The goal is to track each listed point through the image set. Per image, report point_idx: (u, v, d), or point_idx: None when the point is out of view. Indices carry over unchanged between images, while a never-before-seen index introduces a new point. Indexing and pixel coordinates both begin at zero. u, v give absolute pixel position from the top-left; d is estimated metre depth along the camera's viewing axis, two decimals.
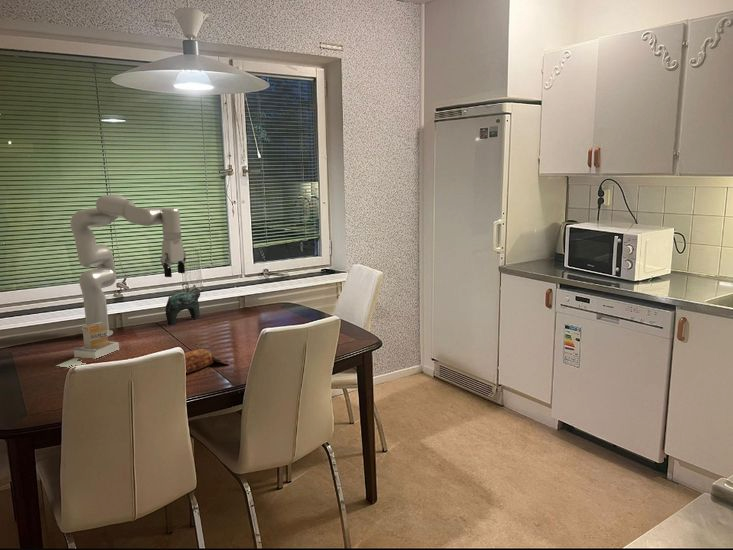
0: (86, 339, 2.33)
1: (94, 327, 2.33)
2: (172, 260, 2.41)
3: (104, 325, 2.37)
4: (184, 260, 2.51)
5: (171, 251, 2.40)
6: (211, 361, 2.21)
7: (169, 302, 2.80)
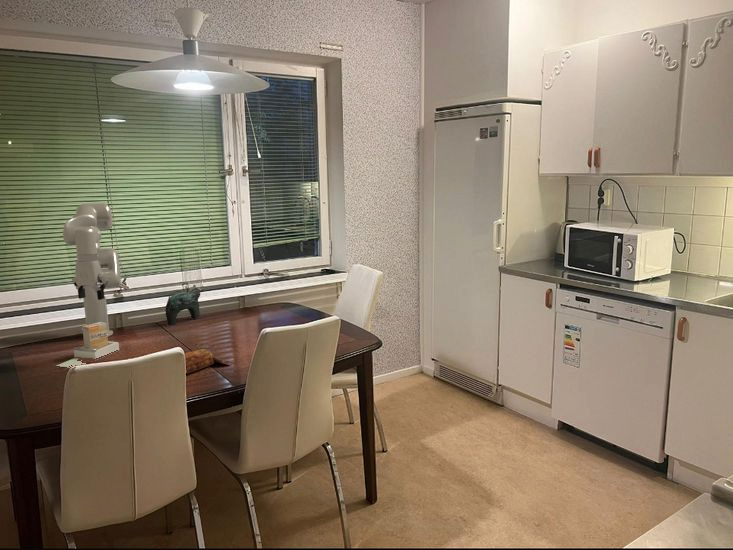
0: (86, 339, 2.33)
1: (94, 327, 2.33)
2: None
3: (104, 325, 2.37)
4: None
5: None
6: (212, 361, 2.21)
7: (169, 302, 2.80)
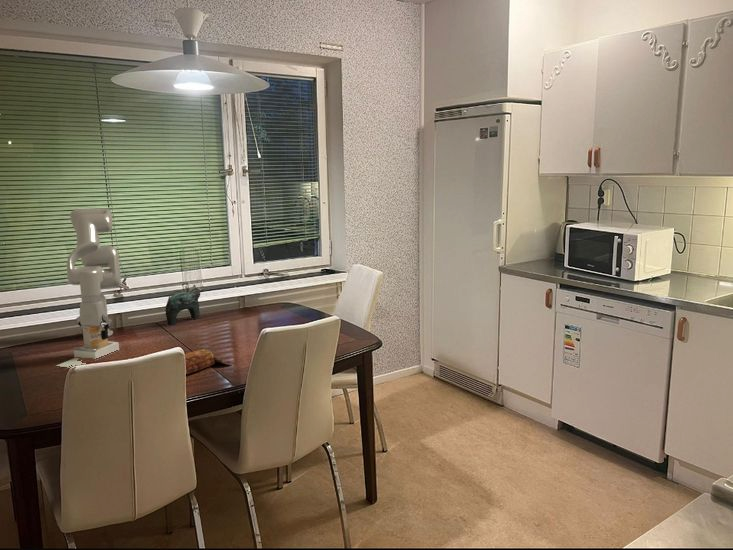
0: (86, 339, 2.33)
1: (94, 327, 2.33)
2: None
3: None
4: None
5: None
6: (213, 361, 2.20)
7: (169, 302, 2.80)
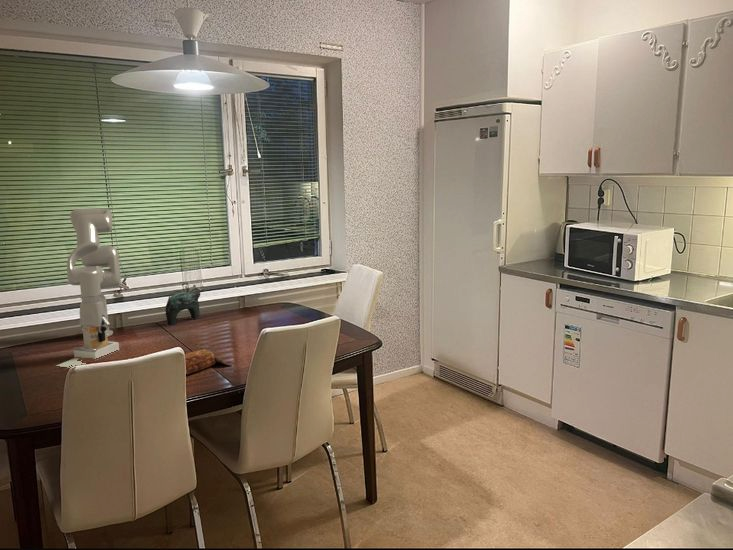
0: (86, 339, 2.33)
1: (94, 327, 2.33)
2: None
3: (104, 325, 2.37)
4: None
5: None
6: (213, 362, 2.20)
7: (169, 302, 2.80)
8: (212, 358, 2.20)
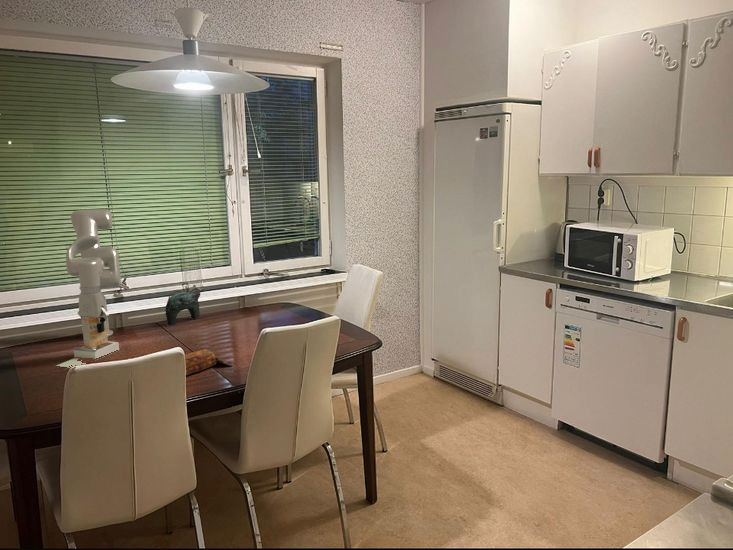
0: (85, 330, 2.32)
1: (93, 318, 2.32)
2: None
3: (103, 316, 2.36)
4: None
5: None
6: (214, 362, 2.20)
7: (169, 302, 2.80)
8: (213, 358, 2.20)
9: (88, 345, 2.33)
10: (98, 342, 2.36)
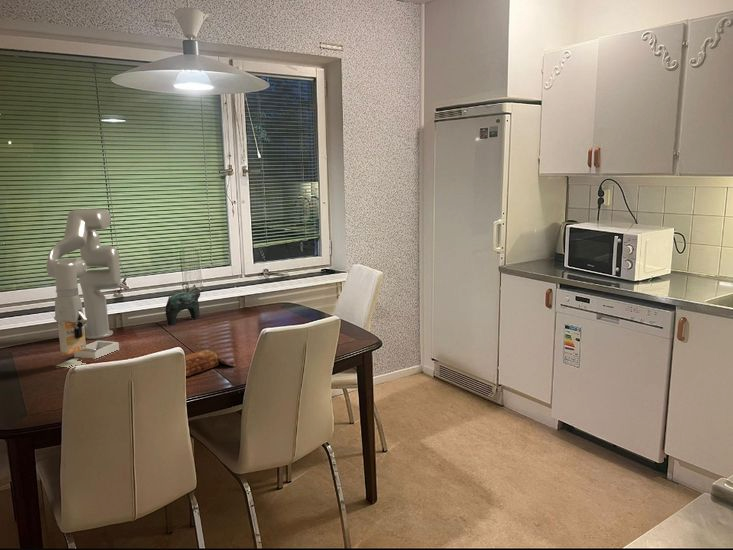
0: (62, 335, 2.19)
1: (70, 322, 2.19)
2: None
3: None
4: None
5: None
6: (217, 363, 2.19)
7: (169, 302, 2.80)
8: (215, 359, 2.19)
9: (65, 351, 2.20)
10: (76, 349, 2.22)
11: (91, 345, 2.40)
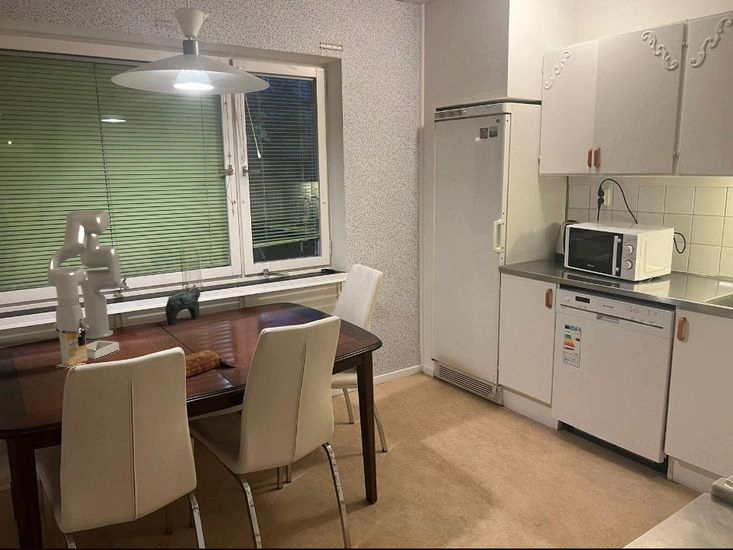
0: (63, 347, 2.20)
1: (72, 334, 2.21)
2: None
3: None
4: None
5: None
6: (218, 363, 2.19)
7: (169, 302, 2.80)
8: (216, 359, 2.19)
9: (67, 363, 2.21)
10: (78, 360, 2.24)
11: (91, 345, 2.40)
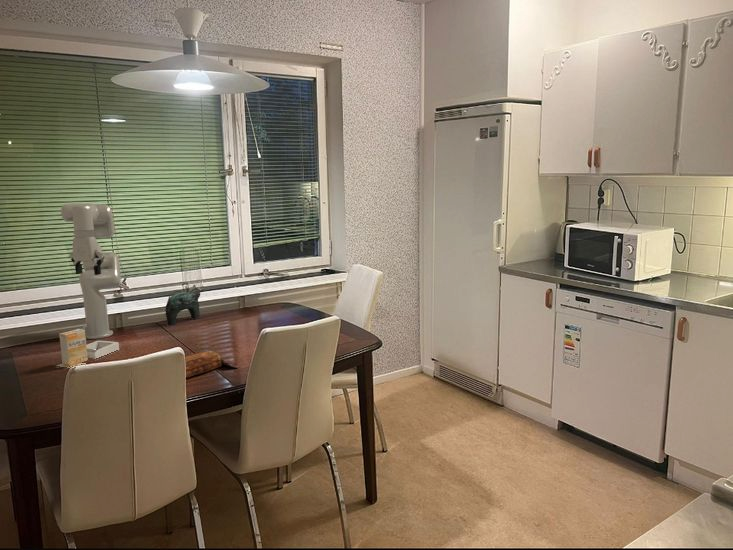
0: (63, 347, 2.20)
1: (72, 334, 2.21)
2: None
3: (83, 332, 2.24)
4: None
5: None
6: (219, 364, 2.18)
7: (169, 302, 2.80)
8: (218, 360, 2.18)
9: (67, 363, 2.21)
10: (78, 360, 2.24)
11: (91, 345, 2.40)
